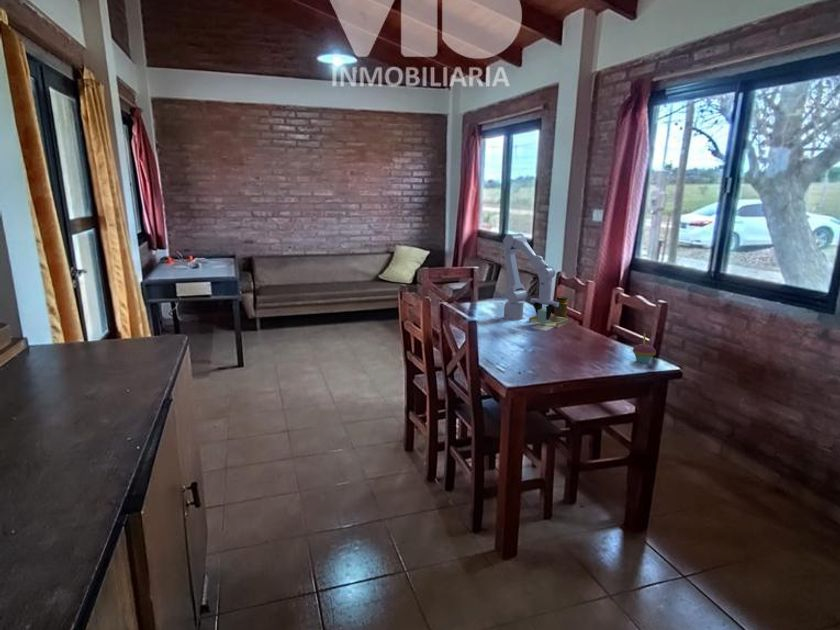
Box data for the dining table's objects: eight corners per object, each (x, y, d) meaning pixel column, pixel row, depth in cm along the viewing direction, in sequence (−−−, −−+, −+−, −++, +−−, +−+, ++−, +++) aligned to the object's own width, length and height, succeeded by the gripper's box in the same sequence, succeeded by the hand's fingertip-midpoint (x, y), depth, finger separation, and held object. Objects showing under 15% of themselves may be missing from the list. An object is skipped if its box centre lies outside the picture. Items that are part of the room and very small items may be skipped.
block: (536, 322, 256) (537, 310, 254) (541, 320, 259) (542, 308, 258) (545, 323, 253) (545, 311, 251) (549, 321, 256) (550, 310, 255)
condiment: (569, 319, 270) (571, 297, 267) (560, 322, 264) (562, 299, 261) (557, 317, 275) (558, 295, 272) (548, 319, 269) (550, 297, 266)
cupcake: (628, 358, 210) (631, 329, 207) (649, 358, 210) (653, 330, 207) (636, 365, 202) (639, 335, 199) (658, 365, 202) (662, 336, 199)
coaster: (530, 328, 251) (530, 327, 251) (538, 325, 257) (538, 324, 257) (545, 331, 246) (545, 330, 246) (553, 328, 252) (553, 327, 252)
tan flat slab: (529, 323, 262) (529, 317, 261) (540, 318, 271) (540, 313, 270) (558, 328, 252) (558, 323, 251) (568, 324, 261) (569, 318, 260)
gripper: (562, 292, 250) (560, 319, 254) (535, 288, 260) (534, 314, 263) (555, 294, 245) (553, 322, 249) (528, 290, 254) (527, 317, 258)
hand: (543, 318), depth 255 cm, fingers closed on block, 4 cm apart
